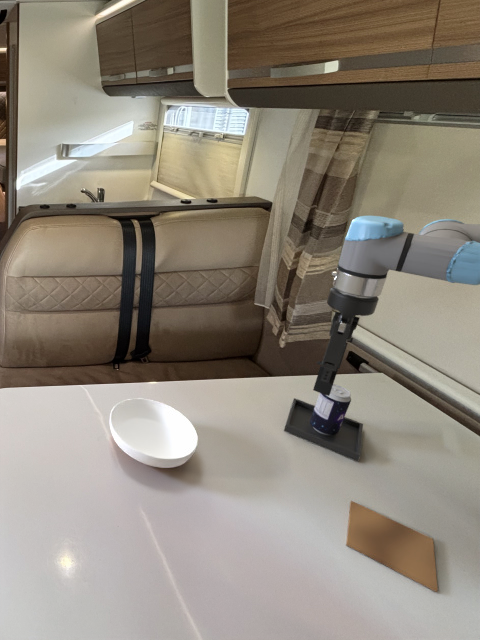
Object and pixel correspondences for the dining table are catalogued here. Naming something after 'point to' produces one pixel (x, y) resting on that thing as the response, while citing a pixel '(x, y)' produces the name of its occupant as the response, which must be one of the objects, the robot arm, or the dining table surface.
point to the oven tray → (341, 443)
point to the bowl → (153, 432)
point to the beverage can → (330, 410)
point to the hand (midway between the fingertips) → (326, 378)
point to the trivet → (392, 545)
